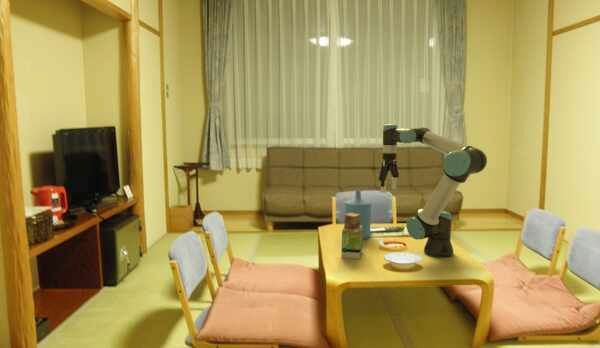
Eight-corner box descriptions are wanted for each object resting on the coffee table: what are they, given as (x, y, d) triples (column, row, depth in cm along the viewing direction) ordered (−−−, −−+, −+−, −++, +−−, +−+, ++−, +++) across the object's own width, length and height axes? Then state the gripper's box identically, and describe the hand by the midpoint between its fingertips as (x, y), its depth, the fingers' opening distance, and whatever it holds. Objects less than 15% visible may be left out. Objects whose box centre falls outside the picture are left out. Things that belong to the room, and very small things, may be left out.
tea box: (360, 259, 252) (360, 231, 250) (340, 258, 254) (341, 230, 252) (362, 250, 266) (362, 224, 264) (344, 249, 268) (344, 223, 266)
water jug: (368, 240, 286) (369, 193, 282) (342, 238, 290) (342, 192, 286) (372, 233, 301) (372, 188, 297) (346, 232, 305) (347, 187, 301)
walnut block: (360, 227, 258) (360, 214, 257) (354, 229, 254) (354, 216, 253) (350, 225, 262) (350, 212, 261) (344, 227, 257) (344, 214, 256)
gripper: (393, 150, 279) (392, 186, 282) (372, 154, 259) (372, 193, 262) (405, 151, 274) (404, 188, 277) (385, 155, 254) (384, 194, 257)
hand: (388, 190), depth 270 cm, fingers open, 13 cm apart
